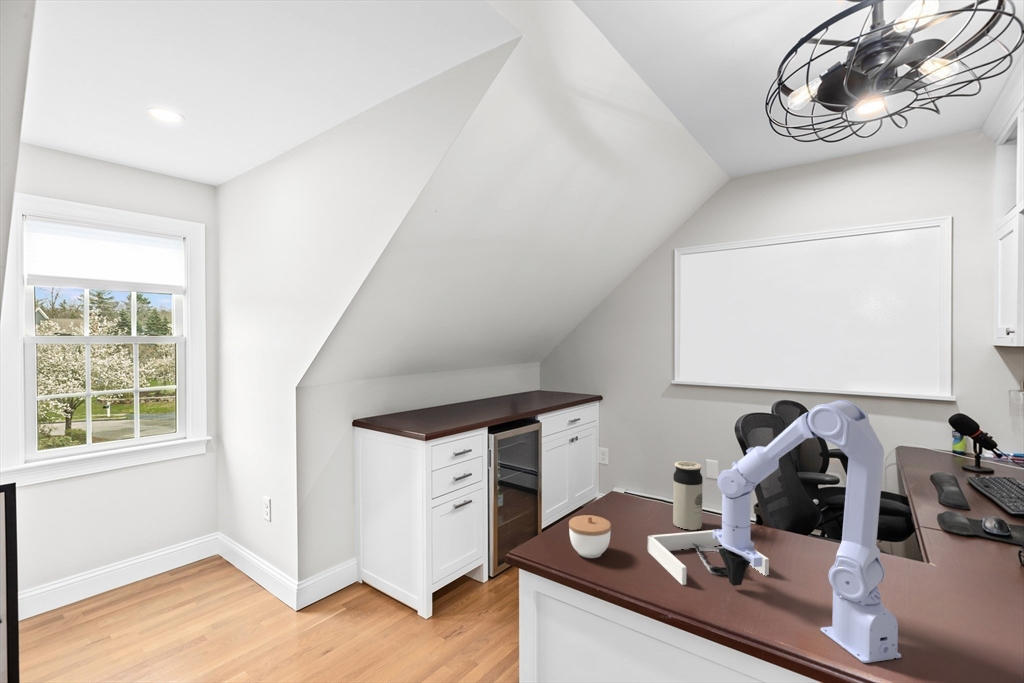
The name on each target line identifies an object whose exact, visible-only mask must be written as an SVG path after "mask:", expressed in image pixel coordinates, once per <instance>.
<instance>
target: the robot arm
mask: <svg viewBox="0 0 1024 683" xmlns="http://www.w3.org/2000/svg"><path fill="white" fill-rule="evenodd" d="M817 437H820V438H821V439H823V440H825V441H827V442H829V443H831V444H832V445H833V446H836V447H837V448H838V449H839V450H840V451H841V452H842V453H844V455H845V456H846V457H847V458H848V459H847V460H848V462H847V472H846V473H847V474H846V483H845V484H846V485H845V486H846V487H845V496H844V497H845V498H844V499H845V500H844V509H843V523H842V533H841V534H842V536H841V543H840V545H839V546H838V547H839V548H838V549H837V552H836V554H835V555H836V556H835V562H834V563H833V565H832V566H831V567H830V568H829V571H828V577H827V578H828V580H829V581H828V582H829V583H830V585H831V586H830V587H832V620H831V622H832V623H831V624H832V625H831V626H823V627H820V631H821V632H822V633H823V634H824V635H826V636H827V637H828V638H830V639H831V640H832V641H834V642H835V643H836V644H838V645H839V646H840V647H841V648H843V649H844V650H846V651H847V652H848V653H850V654H851V655H852V656H853V657H855V658H856V659H858V661H861V663H863V664H868V663H875V662H880V661H886V660H887V661H889V660H894V658H896V659H900V658H902V654H901V653H900V652H898V647H899V646H898V644H899V643H898V642H899V637H898V636H899V624H898V619H897V618H896V616H895V615H894V614H893V613H892V612H891V611H890V610H888V609H887V607H886V606H885V605H884V604H883V601H882V596H881V592H880V591H879V588H878V586H879V584H881V583H882V582H883V581H884V580H885V575H886V573H885V572H886V571H885V568H884V566H883V564H882V562H881V561H882V560H881V550H880V548H879V547H878V545H877V538H878V527H879V519H880V518H879V514H880V506H881V505H880V503H881V493H882V480H883V467H884V455H885V450H884V447H883V446H884V445H882V442H881V440H880V439H879V438H878V435H877V434H876V432H875V429H873V427H872V425H871V423H870V419H869V415H868V414H867V412H865V410H863V409H861V408H860V407H859V406H858V405H856V404H855V403H854V402H852V401H849V400H847V399H838V400H834V401H831V402H829V403H822V404H817V405H815V406H814V407H812V408H811V410H810V411H807V412H805V413H803V414H801V415H800V416H799V417H798V418H796V419H795V420H794V421H793V422H792V423H791V424H790V425H788V427H786V428H785V429H784V430H783V431H781V433H780V434H778V435H777V436H776V437H775V438H774V439H773V440H771V442H770V443H768V445H766V446H760V445H758V446H755V447H754V446H752V447H748V449H746V451H745V452H746V454H745V455H744V456H743V457H742V458H741V459H739V460H736V461H733V462H732V464H731V466H732V467H731V468H730V469H724V470H721V472H720V474H719V475H718V476H717V479H716V484H717V487H718V489H719V491H720V492H721V529H722V530H721V529H719V528H717V529H712V530H713V538H714V539H718V540H719V542H720V543H721V545H722V546H723V547H724V548H722V549H719V553H718V554H720V556H721V558H722V561H723V563H724V566H725V568H726V570H727V574H728V575H727V579H728V582H729V584H730V585H732V586H733V587H735V586H742V583H743V580H744V577H745V574H746V571H747V569H748V568H749V566H750V565H749V564H750V563H751V566H753V567H761V566H762V557H761V556H760V555H759V554H758V553H757V552H756V551H757V549H755V542H754V541H752V540H751V511H752V510H751V500H752V499H751V498H752V492H753V491H754V490H755V489H756V486H757V485H758V484H760V483H761V482H762V481H764V480H765V479H766V478H768V477H769V476H770V475H772V473H774V472H776V471H777V470H778V469H779V467H780V466H779V464H780V462H779V461H780V458H782V457H783V456H785V455H786V454H787V453H788V452H790V451H792V450H793V449H794V448H796V447H797V446H798V445H800V444H801V443H803V442H804V441H805V440H807V439H814V438H817ZM722 546H721V547H722ZM751 566H750V567H751ZM753 567H752V568H753Z"/></svg>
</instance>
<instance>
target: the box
mask: <svg viewBox="0 0 1024 683" xmlns="http://www.w3.org/2000/svg"><path fill="white" fill-rule="evenodd" d="M713 530H714V529H711V530H710V529H709V530H701V531H689V532H677V533H665V534H663V533H662V534H652V535H647V541H646V542H647V543H646V544H647V549H646V551H647V553H648V554H650V555H651V556H652V557H653V558H654V559H655V561H657V562H658V563H659V564H660V565H661V566H662V567H663V568H664V569H665V570H666V571H667V572H668V573H669V574H671V576H672V577H673V578H674V579H675V580H676V581H677V582H679V583H680V584H681V586H685V585H687V566H686V565H685V564H683V563H682V562H681V561H680V560H679V559H678V558H677V557H676V556H675V555H673V553H671V552H672V551H682V550H681V549H684V550H690V549H689V548H695V546H693V544H692V543H694V544H697V545H699V544H700V545H703V546H704V547H707V546H717V547H719V546H718V545H721V543H720V542H719V540H718V539H714V538H713ZM721 530H722V528H721ZM695 549H696V548H695ZM756 552H757V553H758V554H759V555H760V556H761V557H762V566H761V567H753V566H752V567H751V568H752V569H754V568H755V569H756V570H755V569H754V570H755V571H757V570H758V571H759V572H758V571H757V572H758V573H760V574H761V573H762V574H763V575H762V574H761V575H762V576H764V575H765V576H764V577H768V576H767V575H769V574H770V573H769V572H770V570H769V569H770V568H769V566H770V559H769V558H768V557H767V556H765V555H764V554H762V553H761V552H759V551H757V550H756ZM750 565H751V563H750V564H749V566H750Z"/></svg>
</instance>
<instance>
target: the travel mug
mask: <svg viewBox="0 0 1024 683" xmlns="http://www.w3.org/2000/svg"><path fill="white" fill-rule="evenodd" d="M674 466H675V471H674V472H673V482H672V483H673V484H672V485H673V490H672V492H673V495H672V496H673V497H672V498H673V501H672V504H673V506H672V523H673V525H674V526H675V527H677V528H678V527H680V528H679V529H681V528H683V529H682V530H684V529H690V530H689V531H697V529H698V530H700V529H702V528H703V481H704V480H703V475H702V472H701V469H702V467H703V466H702V464H700V463H698V462H695V461H687V460H685V461H683V460H682V461H676V462H675V463H674ZM701 527H702V528H701Z"/></svg>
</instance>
